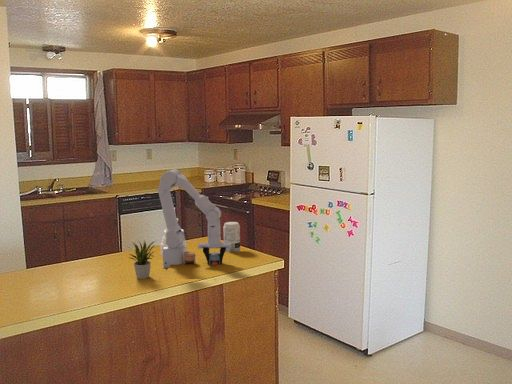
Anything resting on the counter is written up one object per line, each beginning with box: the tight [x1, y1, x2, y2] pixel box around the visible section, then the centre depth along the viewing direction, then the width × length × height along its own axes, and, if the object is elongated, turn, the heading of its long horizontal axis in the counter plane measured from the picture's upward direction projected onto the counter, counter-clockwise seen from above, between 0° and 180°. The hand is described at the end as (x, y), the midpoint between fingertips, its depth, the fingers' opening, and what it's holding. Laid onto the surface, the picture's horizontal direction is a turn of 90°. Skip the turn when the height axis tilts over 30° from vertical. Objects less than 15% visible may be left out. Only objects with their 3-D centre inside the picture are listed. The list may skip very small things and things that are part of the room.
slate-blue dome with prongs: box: [208, 252, 221, 265], centre depth 223 cm, size 5×5×6 cm
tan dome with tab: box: [183, 252, 197, 265], centre depth 223 cm, size 5×5×6 cm
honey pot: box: [160, 217, 188, 257], centre depth 244 cm, size 13×13×18 cm
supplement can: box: [223, 221, 241, 253], centre depth 245 cm, size 8×8×15 cm
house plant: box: [125, 240, 157, 280], centre depth 209 cm, size 14×14×16 cm
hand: (214, 263), depth 223 cm, fingers closed on slate-blue dome with prongs, 5 cm apart
